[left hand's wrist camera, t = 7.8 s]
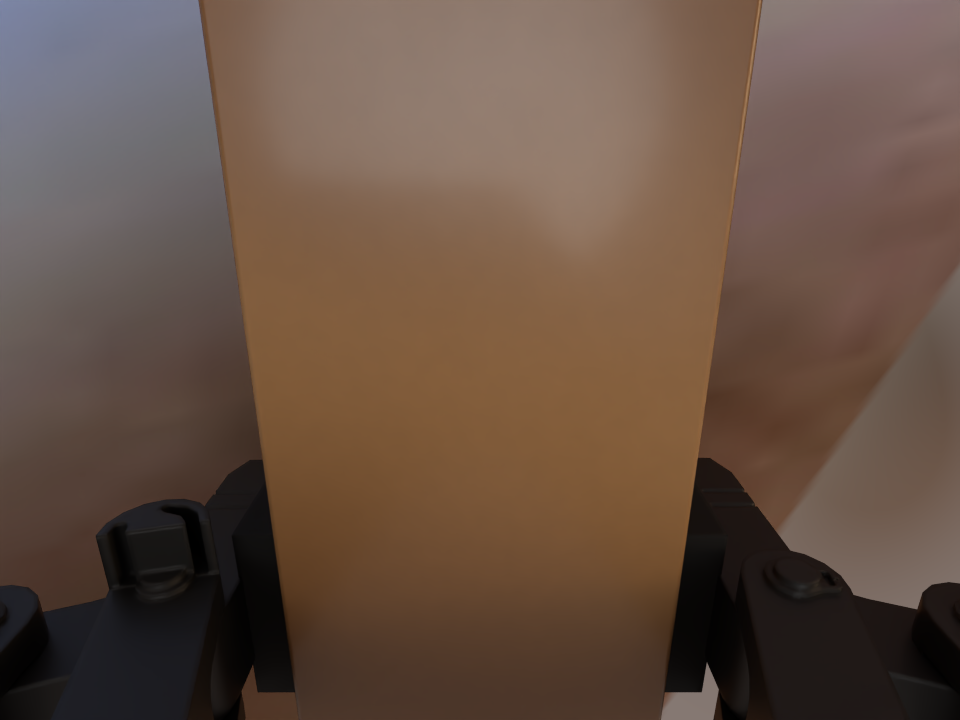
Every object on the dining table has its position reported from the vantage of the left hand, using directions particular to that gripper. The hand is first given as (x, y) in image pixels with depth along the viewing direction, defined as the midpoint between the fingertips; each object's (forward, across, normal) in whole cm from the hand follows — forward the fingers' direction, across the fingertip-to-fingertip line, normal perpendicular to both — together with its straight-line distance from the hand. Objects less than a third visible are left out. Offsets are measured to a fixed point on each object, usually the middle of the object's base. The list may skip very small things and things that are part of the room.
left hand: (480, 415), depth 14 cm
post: (+1, 0, -25) cm, 25 cm away
